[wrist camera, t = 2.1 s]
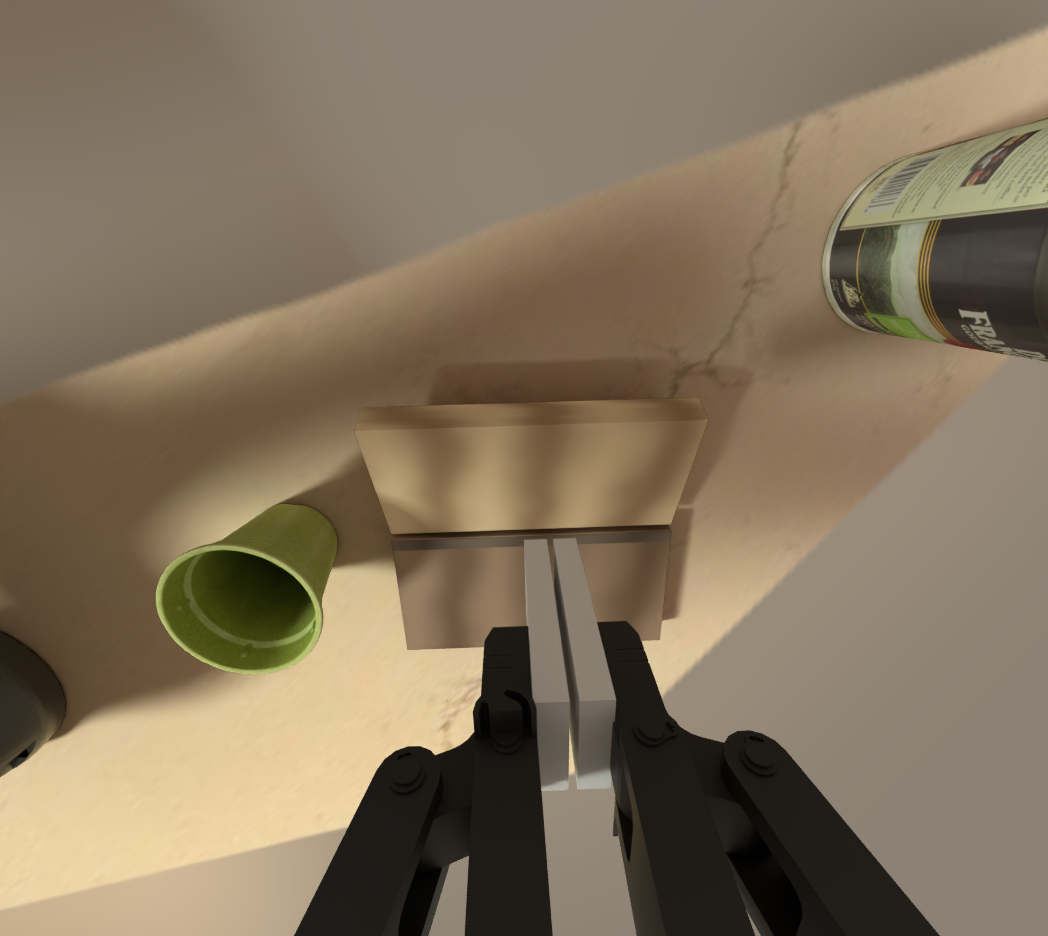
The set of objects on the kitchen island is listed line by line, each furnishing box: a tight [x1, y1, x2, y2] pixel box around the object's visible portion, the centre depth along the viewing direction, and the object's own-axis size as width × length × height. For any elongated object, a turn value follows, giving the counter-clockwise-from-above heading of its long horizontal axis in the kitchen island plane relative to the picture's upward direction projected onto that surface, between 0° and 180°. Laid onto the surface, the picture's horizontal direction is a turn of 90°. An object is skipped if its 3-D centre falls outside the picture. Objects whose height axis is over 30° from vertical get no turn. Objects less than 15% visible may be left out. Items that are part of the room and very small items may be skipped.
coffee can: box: [822, 118, 1048, 362], centre depth 24 cm, size 10×10×14 cm
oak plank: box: [354, 397, 708, 534], centre depth 32 cm, size 20×10×2 cm, turn 91°
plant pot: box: [156, 504, 337, 674], centre depth 33 cm, size 9×9×9 cm
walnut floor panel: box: [391, 524, 671, 650], centre depth 38 cm, size 20×10×2 cm, turn 91°
